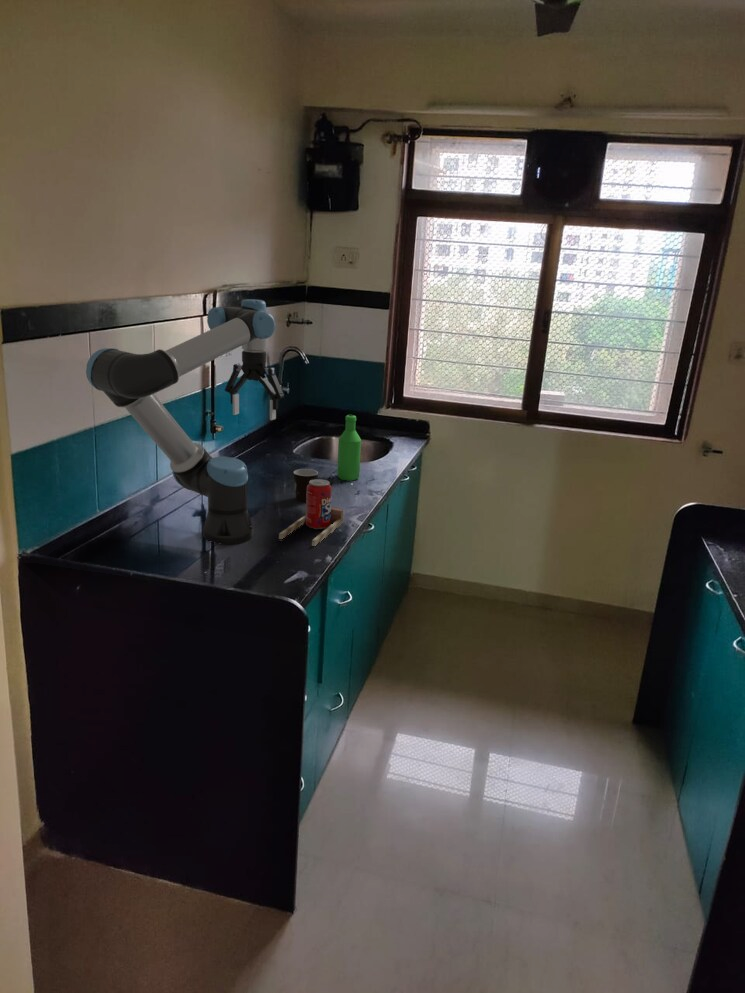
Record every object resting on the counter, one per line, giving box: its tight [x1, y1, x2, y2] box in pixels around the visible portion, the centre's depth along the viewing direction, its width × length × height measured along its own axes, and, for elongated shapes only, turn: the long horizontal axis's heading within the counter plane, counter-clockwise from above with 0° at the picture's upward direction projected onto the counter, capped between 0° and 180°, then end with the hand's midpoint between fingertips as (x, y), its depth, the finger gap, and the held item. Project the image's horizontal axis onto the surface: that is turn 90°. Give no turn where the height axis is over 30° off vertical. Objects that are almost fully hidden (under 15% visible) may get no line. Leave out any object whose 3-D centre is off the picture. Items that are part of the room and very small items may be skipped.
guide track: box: [278, 506, 344, 547], centre depth 221 cm, size 22×12×5 cm, turn 160°
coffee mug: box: [293, 468, 319, 503], centre depth 251 cm, size 12×9×10 cm
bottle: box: [336, 414, 362, 482], centre depth 274 cm, size 9×9×25 cm
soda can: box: [305, 478, 333, 530], centre depth 224 cm, size 8×8×15 cm
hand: (254, 416), depth 229 cm, fingers open, 13 cm apart
